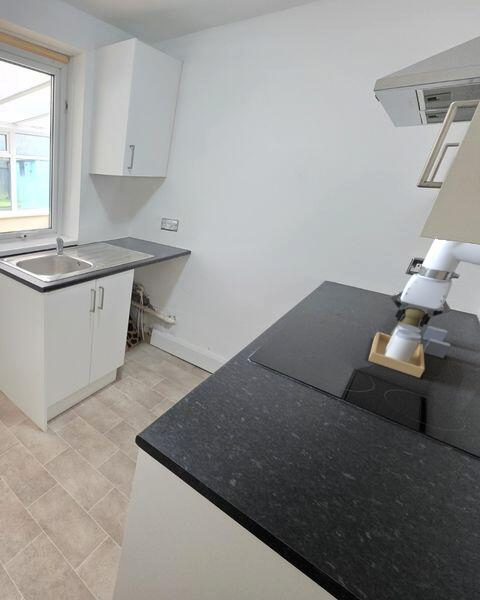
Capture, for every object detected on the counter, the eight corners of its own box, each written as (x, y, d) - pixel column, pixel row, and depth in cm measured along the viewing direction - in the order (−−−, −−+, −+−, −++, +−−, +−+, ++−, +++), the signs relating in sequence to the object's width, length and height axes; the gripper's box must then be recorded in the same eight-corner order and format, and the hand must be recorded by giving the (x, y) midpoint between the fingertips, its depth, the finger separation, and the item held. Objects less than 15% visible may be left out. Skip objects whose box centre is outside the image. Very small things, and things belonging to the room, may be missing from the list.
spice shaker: (407, 355, 109) (422, 328, 105) (406, 362, 105) (422, 333, 101) (384, 348, 113) (398, 321, 109) (383, 354, 109) (397, 326, 105)
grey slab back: (440, 341, 122) (446, 330, 120) (440, 344, 120) (447, 332, 118) (422, 336, 125) (428, 325, 123) (422, 339, 123) (428, 328, 121)
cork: (395, 338, 110) (410, 310, 106) (387, 331, 115) (400, 304, 111) (417, 342, 108) (433, 314, 104) (408, 334, 114) (422, 307, 109)
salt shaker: (406, 362, 105) (422, 334, 101) (406, 369, 101) (422, 340, 97) (383, 355, 109) (397, 327, 104) (382, 361, 105) (396, 333, 101)
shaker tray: (418, 352, 113) (423, 344, 112) (419, 377, 98) (424, 369, 97) (373, 339, 121) (377, 331, 120) (368, 360, 106) (372, 352, 105)
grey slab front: (442, 355, 112) (449, 343, 110) (443, 358, 110) (450, 346, 108) (423, 349, 115) (429, 338, 113) (423, 352, 113) (430, 340, 111)
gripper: (472, 278, 100) (443, 328, 107) (399, 265, 110) (378, 311, 118) (475, 283, 95) (445, 335, 102) (399, 269, 106) (376, 317, 113)
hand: (409, 322), depth 110 cm, fingers closed on cork, 5 cm apart
